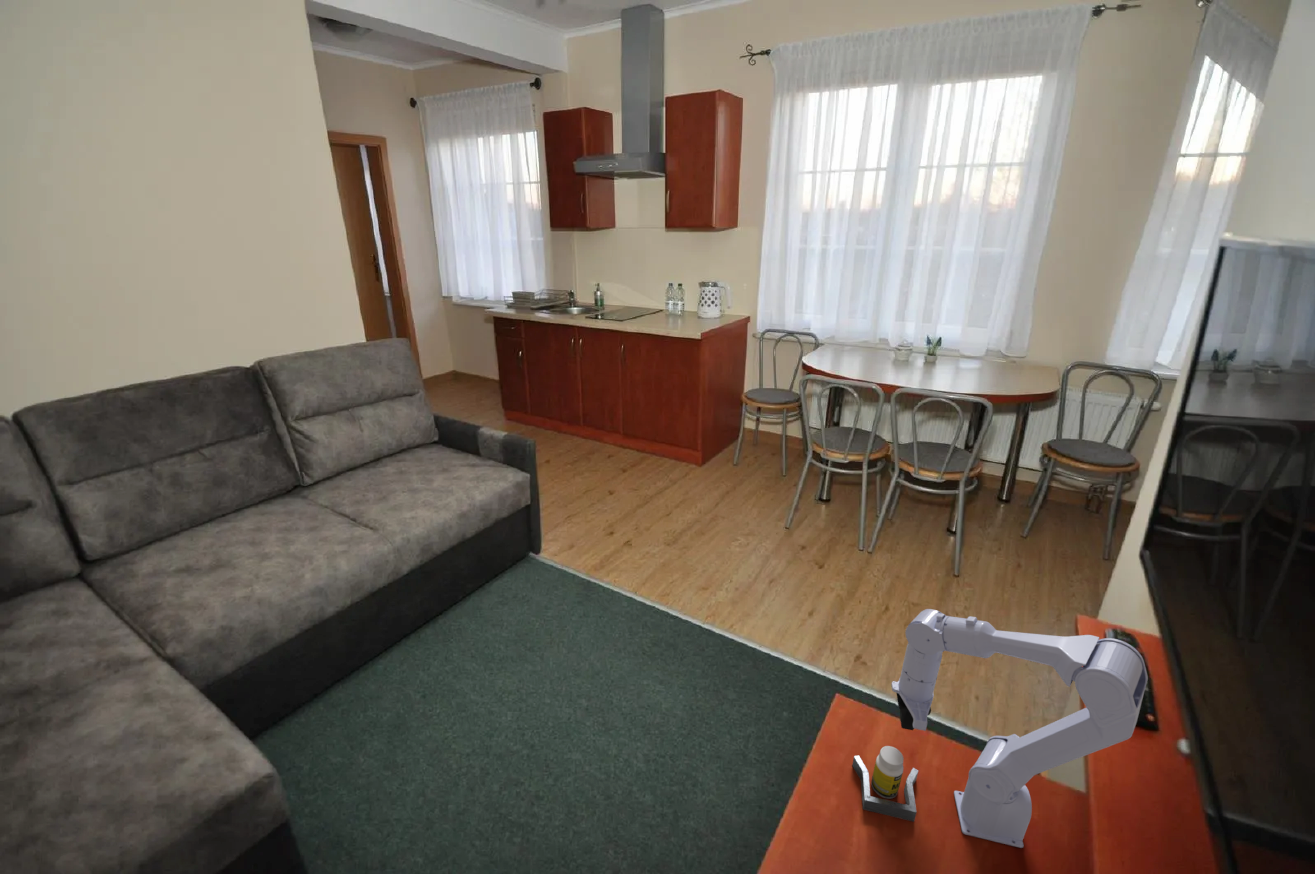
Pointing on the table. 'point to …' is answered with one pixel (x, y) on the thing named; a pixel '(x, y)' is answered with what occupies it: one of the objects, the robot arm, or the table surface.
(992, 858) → the table surface
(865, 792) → the u holder
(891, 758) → the supplement bottle
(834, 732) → the table surface
